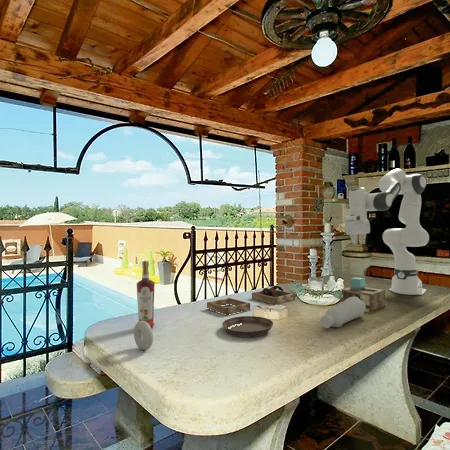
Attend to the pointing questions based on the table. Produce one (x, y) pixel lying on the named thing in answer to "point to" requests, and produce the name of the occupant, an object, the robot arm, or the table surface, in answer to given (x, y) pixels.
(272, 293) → the pottery mug
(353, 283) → the teal stemmed block
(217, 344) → the table surface
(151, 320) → the liquor
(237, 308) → the tray
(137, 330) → the donut
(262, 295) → the tray
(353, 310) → the bottle
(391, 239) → the robot arm
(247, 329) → the plant saucer
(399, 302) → the table surface
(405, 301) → the table surface
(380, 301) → the tan hollow wooden block
